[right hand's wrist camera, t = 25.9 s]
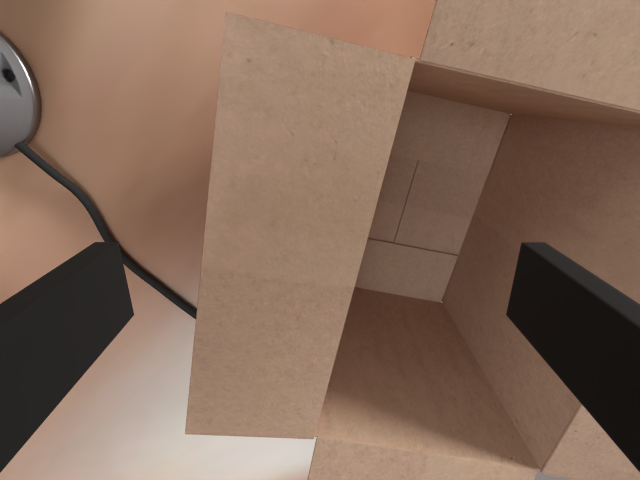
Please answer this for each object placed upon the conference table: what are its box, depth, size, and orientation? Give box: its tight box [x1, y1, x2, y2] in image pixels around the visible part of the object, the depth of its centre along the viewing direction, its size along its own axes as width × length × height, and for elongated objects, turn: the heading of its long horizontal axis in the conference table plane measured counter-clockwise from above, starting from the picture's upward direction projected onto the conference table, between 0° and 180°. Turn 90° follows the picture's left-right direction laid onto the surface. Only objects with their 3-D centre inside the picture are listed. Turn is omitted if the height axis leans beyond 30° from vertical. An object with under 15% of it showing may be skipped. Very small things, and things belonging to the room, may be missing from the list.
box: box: [185, 0, 640, 480], centre depth 34 cm, size 44×36×27 cm
